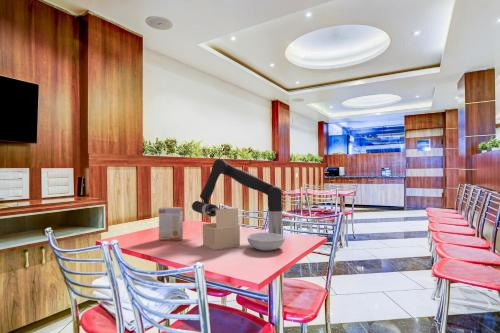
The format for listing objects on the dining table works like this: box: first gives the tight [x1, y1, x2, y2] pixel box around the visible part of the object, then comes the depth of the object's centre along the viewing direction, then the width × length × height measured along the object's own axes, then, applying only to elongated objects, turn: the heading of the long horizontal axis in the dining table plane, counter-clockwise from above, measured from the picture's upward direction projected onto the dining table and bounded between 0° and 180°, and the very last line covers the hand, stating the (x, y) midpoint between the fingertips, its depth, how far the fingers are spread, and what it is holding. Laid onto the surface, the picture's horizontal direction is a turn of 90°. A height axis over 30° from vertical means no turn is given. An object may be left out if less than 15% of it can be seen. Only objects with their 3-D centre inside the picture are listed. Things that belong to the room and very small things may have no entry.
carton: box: [202, 222, 241, 252], centre depth 167 cm, size 17×17×12 cm
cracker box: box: [158, 206, 184, 242], centre depth 182 cm, size 14×6×21 cm, turn 84°
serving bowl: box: [247, 232, 286, 252], centre depth 160 cm, size 21×21×7 cm
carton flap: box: [215, 207, 240, 228], centre depth 160 cm, size 10×14×1 cm
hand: (222, 213), depth 165 cm, fingers closed
